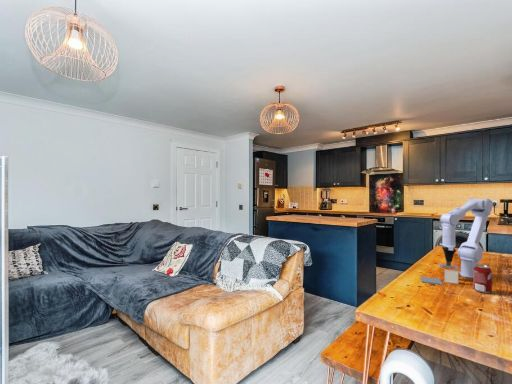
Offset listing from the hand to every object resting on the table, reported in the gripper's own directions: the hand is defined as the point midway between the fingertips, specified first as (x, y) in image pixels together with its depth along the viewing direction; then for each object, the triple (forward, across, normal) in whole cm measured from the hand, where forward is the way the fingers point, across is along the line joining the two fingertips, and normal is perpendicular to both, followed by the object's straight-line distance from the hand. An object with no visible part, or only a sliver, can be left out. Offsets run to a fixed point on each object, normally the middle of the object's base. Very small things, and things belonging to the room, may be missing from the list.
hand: (448, 261), depth 146 cm
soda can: (+10, +14, +11) cm, 20 cm away
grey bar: (+3, 0, 0) cm, 3 cm away
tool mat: (+10, +8, -9) cm, 15 cm away
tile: (+10, +6, 0) cm, 11 cm away
